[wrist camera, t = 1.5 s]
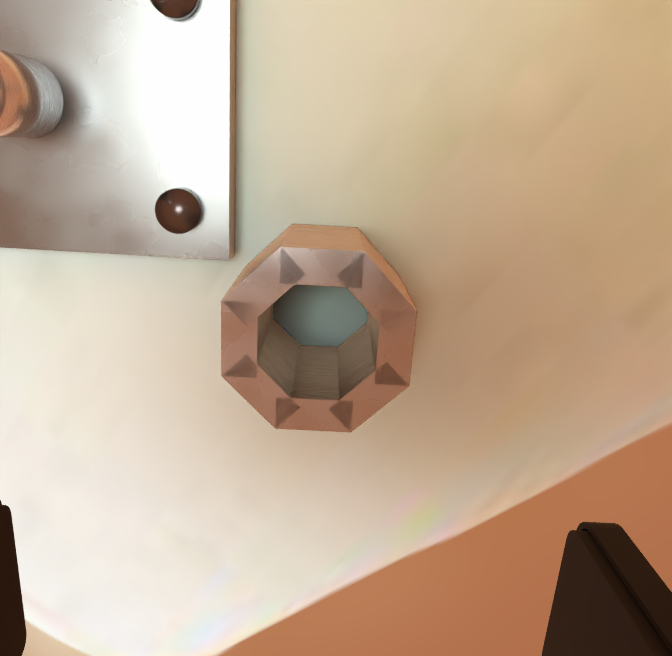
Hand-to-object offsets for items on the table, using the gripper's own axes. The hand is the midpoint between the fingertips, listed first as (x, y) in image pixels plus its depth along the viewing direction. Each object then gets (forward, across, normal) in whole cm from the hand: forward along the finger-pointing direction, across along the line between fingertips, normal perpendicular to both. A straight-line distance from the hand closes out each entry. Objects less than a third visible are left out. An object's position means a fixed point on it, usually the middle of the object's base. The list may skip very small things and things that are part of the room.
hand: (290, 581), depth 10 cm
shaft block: (+18, +12, -8) cm, 23 cm away
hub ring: (+18, 0, 0) cm, 18 cm away
